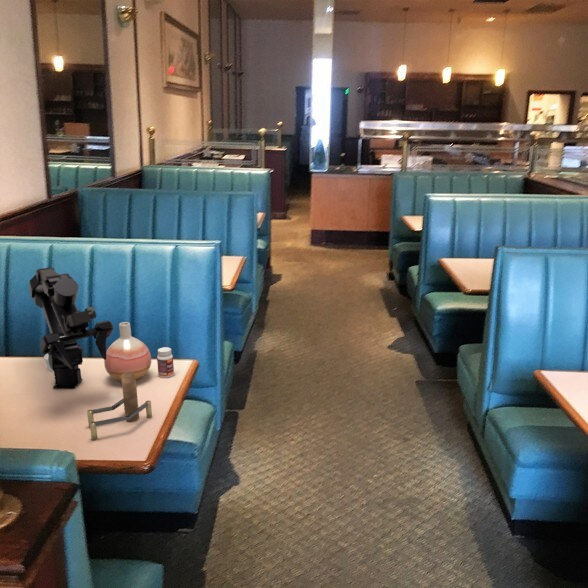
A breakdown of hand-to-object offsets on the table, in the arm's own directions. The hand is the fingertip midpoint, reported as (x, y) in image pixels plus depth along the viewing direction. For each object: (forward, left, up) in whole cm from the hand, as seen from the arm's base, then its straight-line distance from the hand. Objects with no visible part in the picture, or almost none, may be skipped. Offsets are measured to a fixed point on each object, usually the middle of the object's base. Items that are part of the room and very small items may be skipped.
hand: (89, 363), depth 165 cm
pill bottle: (+14, +24, -14) cm, 31 cm away
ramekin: (-22, +29, -14) cm, 39 cm away
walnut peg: (+12, -4, -14) cm, 19 cm away
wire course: (+9, -8, -14) cm, 18 cm away
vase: (+3, +21, -14) cm, 25 cm away
